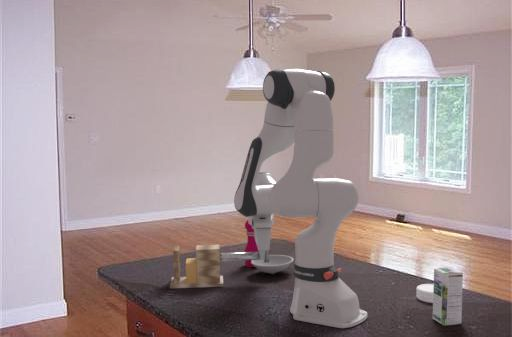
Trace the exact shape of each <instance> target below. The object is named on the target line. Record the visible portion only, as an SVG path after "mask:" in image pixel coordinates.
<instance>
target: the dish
mask: <svg viewBox="0 0 512 337" xmlns="http://www.w3.org/2000/svg"><path fill="white" fill-rule="evenodd" d="M294 259H295V258H294V257H292V256H289V255H285V254H269V263H264V260H252V261H251V263H252V264H253V265H254V266H255V268H256V269H257V270H258V271H260V272H263V273H266V274H270V275H275V274H277V273H280V272H282V271H284V270H286V269H287V268H288V267H289V266H290V265H291V264H292V263H293V262H295V260H294Z"/></svg>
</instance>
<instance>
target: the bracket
mask: <svg viewBox="0 0 512 337" xmlns="http://www.w3.org/2000/svg"><path fill="white" fill-rule="evenodd" d="M220 246H221V245H220V244H197V245H196V246H195V258H196V273H197V282H196V283H191V284H186V276H181V254H180V253H181V251H180V249H181V246H180V245H174V247H173V255H172V256H173V258H172V259H173V276H172V277H171V279H170V283H169V289H186V288H187V289H189V288H196V289H197V288H218V287H219V288H220V287H224V275H221V261H220V253H221V252H220V249H221V248H220Z"/></svg>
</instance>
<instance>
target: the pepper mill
mask: <svg viewBox="0 0 512 337" xmlns="http://www.w3.org/2000/svg"><path fill="white" fill-rule="evenodd" d="M244 228H245V229H246V230H245V231H246V236H247V242H246V246H245V247H244V251H243V252H258V247H257V244H256V241H255V238H254V229H253V228H252V225H250V224H249V222H248V219H247V220H246V221H245V223H244ZM251 261H252V260H244V267H246V266H247V268H251V267H255V266H254V265H253V264H252V263H251ZM255 268H256V267H255Z"/></svg>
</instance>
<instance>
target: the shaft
mask: <svg viewBox="0 0 512 337" xmlns="http://www.w3.org/2000/svg"><path fill="white" fill-rule="evenodd" d="M269 255H270V249H269V250H268V251H265V259H264V263H269ZM246 260H260V258H259V252H244V251H237V252H220V262H229V261H232V262H233V261H235V262H236V261H239V262H240V261H246Z"/></svg>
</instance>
